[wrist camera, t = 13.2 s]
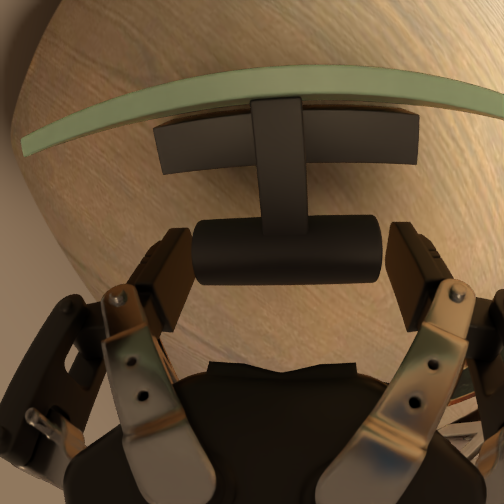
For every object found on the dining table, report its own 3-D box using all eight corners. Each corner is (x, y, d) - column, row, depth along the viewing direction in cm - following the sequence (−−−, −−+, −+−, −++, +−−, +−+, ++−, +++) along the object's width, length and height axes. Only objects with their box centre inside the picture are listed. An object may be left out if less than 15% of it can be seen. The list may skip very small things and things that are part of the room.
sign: (171, 106, 16) (185, 192, 19) (19, 139, 6) (76, 308, 8) (398, 94, 14) (397, 185, 16) (542, 109, 3) (503, 303, 6)
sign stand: (179, 160, 19) (162, 175, 16) (171, 119, 17) (152, 128, 15) (400, 151, 16) (417, 165, 14) (401, 108, 15) (419, 114, 12)
